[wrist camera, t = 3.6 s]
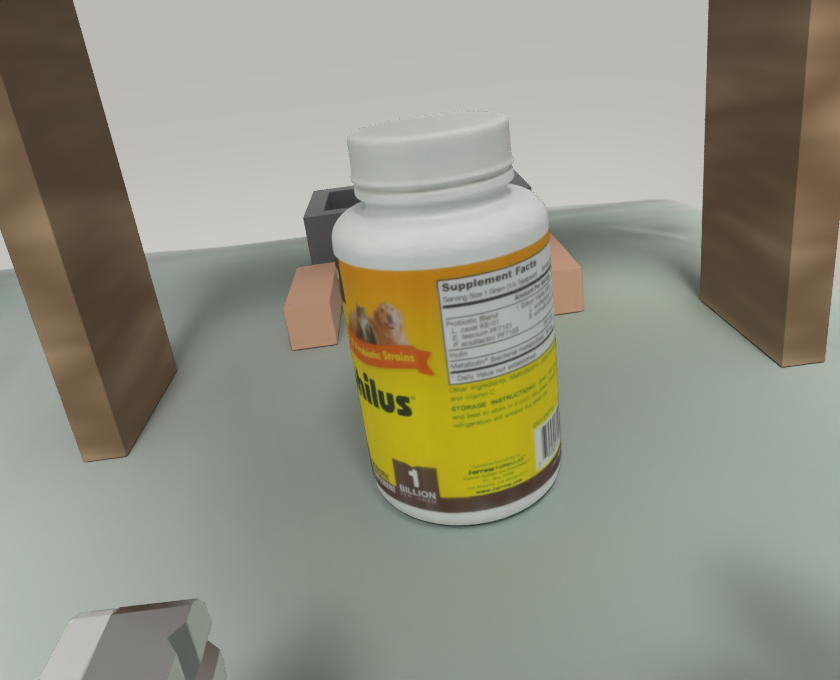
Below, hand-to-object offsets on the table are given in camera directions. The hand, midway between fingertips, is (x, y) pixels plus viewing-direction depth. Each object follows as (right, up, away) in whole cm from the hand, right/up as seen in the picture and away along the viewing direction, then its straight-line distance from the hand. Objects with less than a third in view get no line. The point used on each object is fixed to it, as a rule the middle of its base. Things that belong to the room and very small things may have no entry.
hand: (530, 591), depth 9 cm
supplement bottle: (0, -1, +13) cm, 13 cm away
